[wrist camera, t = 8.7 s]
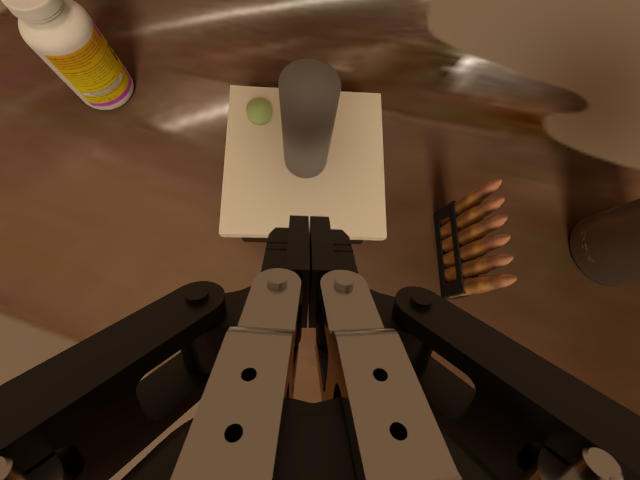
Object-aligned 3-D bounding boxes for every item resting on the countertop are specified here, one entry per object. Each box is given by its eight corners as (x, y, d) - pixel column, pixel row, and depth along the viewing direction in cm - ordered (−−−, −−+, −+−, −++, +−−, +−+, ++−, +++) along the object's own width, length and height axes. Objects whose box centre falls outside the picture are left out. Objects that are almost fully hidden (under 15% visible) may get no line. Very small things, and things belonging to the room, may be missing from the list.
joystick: (377, 101, 33) (417, -2, 22) (383, 240, 30) (433, 200, 19) (232, 93, 32) (199, -19, 21) (222, 236, 29) (175, 192, 18)
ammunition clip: (433, 213, 40) (489, 169, 28) (447, 213, 40) (509, 170, 28) (441, 298, 37) (507, 289, 26) (456, 298, 37) (528, 289, 26)
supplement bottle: (146, 87, 41) (82, -14, 29) (110, 121, 40) (24, 31, 27) (108, 60, 42) (28, -50, 29) (70, 93, 40) (-31, -8, 28)
